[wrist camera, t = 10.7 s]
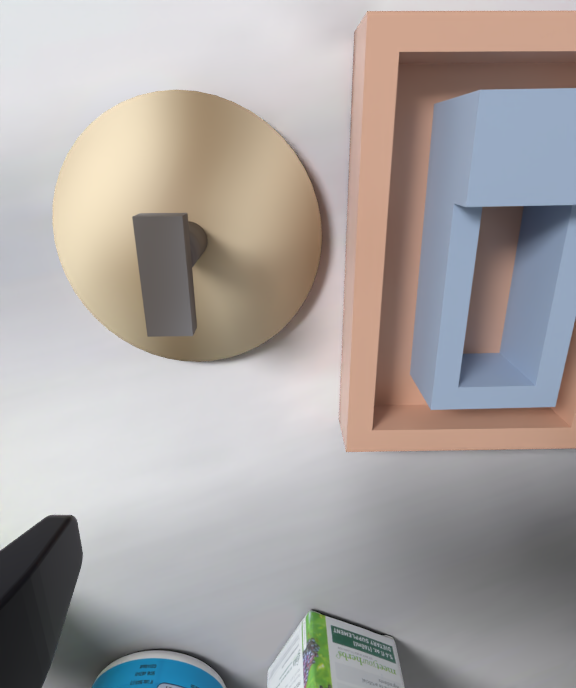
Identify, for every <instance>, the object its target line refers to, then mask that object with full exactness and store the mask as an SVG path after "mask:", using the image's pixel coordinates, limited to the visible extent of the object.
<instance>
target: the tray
mask: <svg viewBox="0 0 576 688" xmlns="http://www.w3.org/2000/svg"><path fill="white" fill-rule="evenodd" d="M551 88H576V11H367V13H366V14H365V16H364V17H363V19H362V21H361V22H360V24H359V25H358V27H357V29H356V30H355V32H354V54H353V79H352V104H351V129H350V154H349V179H348V204H347V229H346V254H345V279H344V304H343V329H342V354H341V379H340V404H339V422H340V427H341V431H342V436H343V440H344V445H345V449H346V452H374V451H438V450H502V449H566V448H576V318H575V322H574V327H573V331H572V335H571V340H570V344H569V349H568V353H567V358H566V362H565V366H564V371H563V375H562V380H561V384H560V389H559V393H558V397H557V402H556V406H555V407H532V408H491V409H449V410H431V409H430V408H429V406H428V404H427V403H426V401H425V399H424V397H423V396H422V394H421V392H420V391H419V389H418V387H417V386H416V384H415V382H414V380H413V379H412V377H411V375H410V367H411V356H412V345H413V333H414V322H415V311H416V300H417V289H418V278H419V266H420V255H421V244H422V233H423V222H424V211H425V199H426V188H427V177H428V166H429V155H430V144H431V132H432V121H433V110H434V104H436V103H439V102H442V101H445V100H449V99H452V98H455V97H458V96H462V95H465V94H468V93H471V92H474V91H478V90H494V89H551ZM523 208H524V206H495V207H482V214H481V221H480V229H479V236H478V244H477V251H476V259H475V266H474V274H473V281H472V288H471V296H470V303H469V311H468V318H467V326H466V333H465V341H464V348H463V354H471V353H499V352H500V346H501V340H502V334H503V328H504V322H505V316H506V310H507V304H508V298H509V292H510V286H511V280H512V274H513V268H514V262H515V256H516V250H517V244H518V238H519V232H520V226H521V220H522V214H523Z"/></svg>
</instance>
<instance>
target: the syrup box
mask: <svg viewBox="0 0 576 688" xmlns="http://www.w3.org/2000/svg"><path fill="white" fill-rule="evenodd" d="M267 688H405V686H404V681H403V676H402V671H401V666H400V662H399V657H398V652H397V648H396V644H395V641H394V639H393V637H391V636H388V635H379V634H376V633H373V632H371V631H369V630H366V629H363V628H360V627H357V626H354V625H351V624H348V623H346V622H343V621H340V620H337V619H334V618H331V617H328V616H325V615H322V614H320V613H318V612H315V611H312V610H309V611H308V613H307V614H306V616H305V617H304V618H303V620H302V621H301V623H300V624H299V626H298V627H297V628H296V630H295V631H294V633H293V634H292V635H291V637H290V638H289V640H288V641H287V643H286V644H285V646H284V647H283V648H282V650H281V651H280V653H279V655H278V656H277V657H276V659H275V660H274V662H273V663H272V665H271V666H270V668H269V669H268V678H267Z"/></svg>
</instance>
